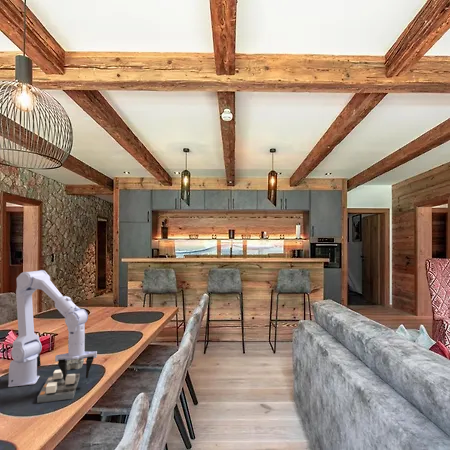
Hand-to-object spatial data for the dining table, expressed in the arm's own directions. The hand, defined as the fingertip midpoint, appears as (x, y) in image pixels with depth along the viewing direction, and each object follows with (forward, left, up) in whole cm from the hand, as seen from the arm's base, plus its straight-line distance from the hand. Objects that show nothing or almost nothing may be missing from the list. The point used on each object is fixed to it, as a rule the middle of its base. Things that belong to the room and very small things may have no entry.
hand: (76, 378), depth 135 cm
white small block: (-7, +7, -1) cm, 10 cm away
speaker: (-23, +28, -4) cm, 36 cm away
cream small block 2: (-2, 0, -1) cm, 2 cm away
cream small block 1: (-7, -6, -1) cm, 10 cm away
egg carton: (-4, +26, -4) cm, 27 cm away
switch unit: (-6, 0, -4) cm, 7 cm away
